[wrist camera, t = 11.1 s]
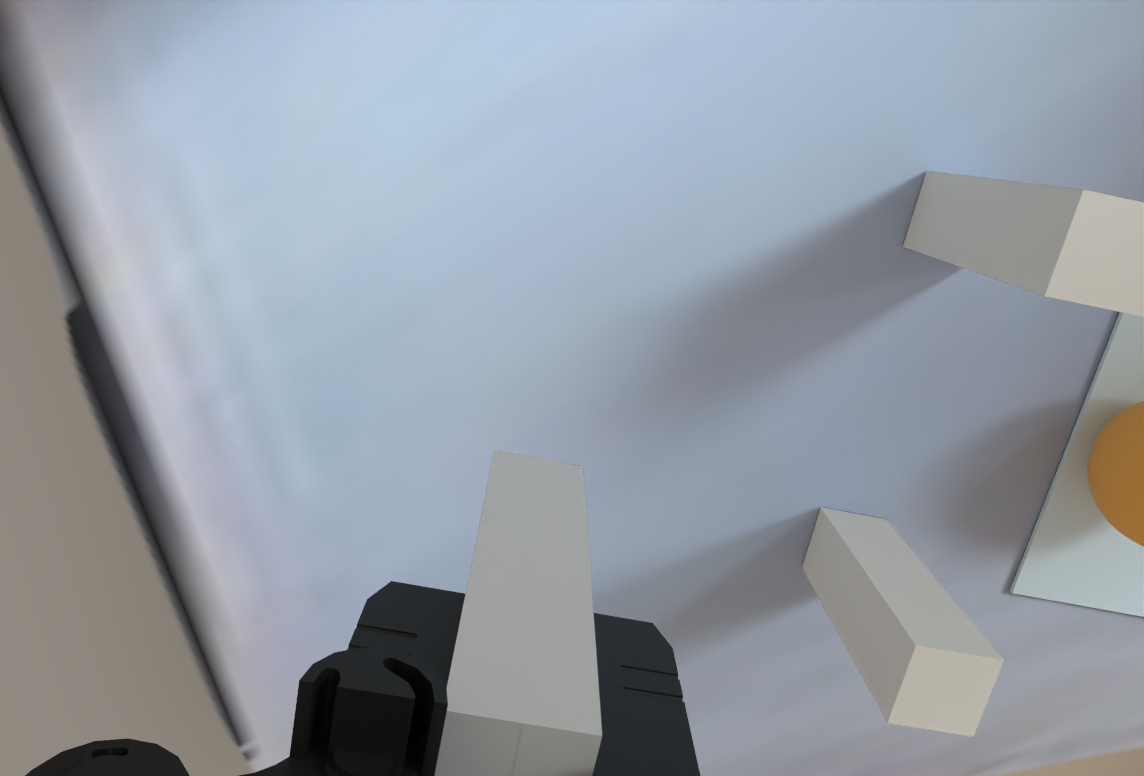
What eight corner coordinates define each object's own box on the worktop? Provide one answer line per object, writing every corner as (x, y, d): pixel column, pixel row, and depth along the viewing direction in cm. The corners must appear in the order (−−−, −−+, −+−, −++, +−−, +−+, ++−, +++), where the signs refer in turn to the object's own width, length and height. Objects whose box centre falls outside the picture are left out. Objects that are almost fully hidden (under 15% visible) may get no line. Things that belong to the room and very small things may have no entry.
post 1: (886, 519, 32) (1004, 660, 24) (865, 579, 33) (973, 736, 25) (820, 507, 32) (916, 645, 24) (802, 567, 33) (887, 722, 24)
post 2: (999, 186, 29) (1185, 211, 20) (973, 261, 30) (1143, 316, 21) (926, 170, 29) (1083, 189, 20) (902, 246, 29) (1044, 295, 21)
